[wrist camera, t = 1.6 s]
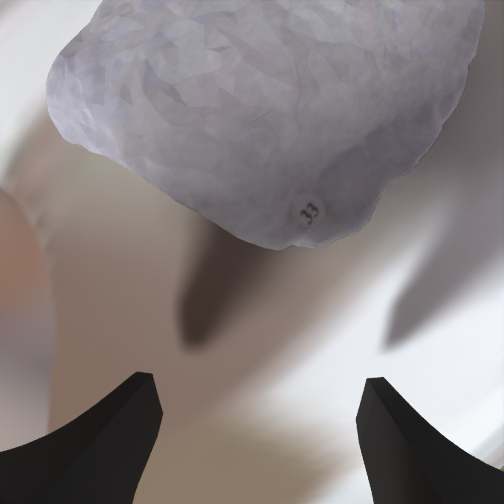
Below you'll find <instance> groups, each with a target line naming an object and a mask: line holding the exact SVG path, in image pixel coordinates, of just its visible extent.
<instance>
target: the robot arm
mask: <svg viewBox="0 0 504 504" xmlns="http://www.w3.org/2000/svg"><path fill="white" fill-rule="evenodd" d="M162 416H163V411H162V408H161V404H160V401H159V397H158V393H157V390H156V386H155V382H154V378H153V374H151V373H144V372H135V373H134V374H133V375H132V376H130V377H129V378H128V379H127V380H125V381H124V382H123V383H122V384H121V385H119V386H118V387H117V388H116V389H114V390H113V391H112V392H111V393H110V394H108V395H107V396H106V397H104V398H103V399H102V400H101V401H99V402H98V403H97V404H96V405H94V406H93V407H91V408H90V409H89V410H87V411H86V412H84V413H83V414H81V415H80V416H79V417H77V418H76V419H74V420H73V421H71V422H70V423H68V424H66V425H65V426H63V427H61V428H59V429H57V430H56V431H54V432H52V433H50V434H48V435H46V436H44V437H41V438H39V439H37V440H34V441H32V442H30V443H27V444H25V445H22V446H19V447H16V448H13V449H10V450H6V451H2V452H0V504H132V503H133V499H134V495H135V492H136V489H137V486H138V483H139V481H140V478H141V476H142V473H143V471H144V468H145V466H146V464H147V461H148V459H149V456H150V454H151V451H152V449H153V446H154V444H155V441H156V439H157V436H158V432H159V428H160V424H161V420H162ZM356 424H357V432H358V439H359V445H360V449H361V453H362V457H363V460H364V464H365V468H366V472H367V476H368V480H369V483H370V487H371V491H372V496H373V501H374V504H504V471H501V470H499V469H497V468H495V467H492V466H490V465H488V464H486V463H484V462H483V461H481V460H479V459H477V458H475V457H474V456H472V455H470V454H469V453H467V452H465V451H464V450H462V449H461V448H460V447H458V446H457V445H455V444H454V443H453V442H451V441H450V440H448V439H447V438H446V437H445V436H443V435H442V434H441V433H440V432H439V431H437V430H436V429H435V428H434V427H433V426H432V425H430V424H429V423H428V422H427V421H426V420H425V419H424V418H423V417H422V416H421V415H420V414H419V413H418V412H417V411H416V410H415V409H414V408H413V407H412V406H411V405H410V404H409V403H408V402H407V401H406V400H405V399H404V398H403V397H402V396H401V395H400V394H399V393H398V392H397V391H396V390H395V389H394V388H393V386H392V385H391V384H390V383H389V382H388V381H387V380H386V379H385V378H384V377H378V378H367V379H366V383H365V387H364V391H363V395H362V399H361V402H360V406H359V409H358V413H357V416H356Z"/></svg>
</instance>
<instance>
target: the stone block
mask: <svg viewBox="0 0 504 504" xmlns="http://www.w3.org/2000/svg"><path fill="white" fill-rule="evenodd" d="M485 16H486V14H485V3H484V0H103V1H102V3H101V4H100V5H99V7H98V8H97V10H96V12H95V14H94V16H93V18H92V20H91V22H90V23H89V24H88V25H87V26H86V27H84V28H83V29H82V30H81V31H80V33H79V34H78V35H77V36H75V37H74V38H73V39H72V40H71V41H70V42H69V43H68V44H67V45H66V47H65V48H64V49H63V50H62V51H61V52H60V53H59V54H58V56H57V58H56V59H55V61H54V62H53V64H52V67H51V69H50V72H49V75H48V77H47V81H46V97H47V105H48V111H49V114H50V117H51V118H52V120H53V122H54V124H55V126H56V127H57V129H58V130H59V132H60V133H61V135H62V136H63V138H64V139H65V140H67V141H68V142H70V143H71V144H80V145H82V146H83V147H85V148H86V149H87V150H89V151H90V152H93V153H98V154H102V155H105V156H106V157H108V158H110V159H112V160H113V161H115V162H117V163H118V164H120V165H122V166H123V167H125V168H126V169H128V170H129V171H131V172H133V173H134V174H136V175H137V176H139V177H140V178H142V179H144V180H145V181H147V182H149V183H150V184H152V185H154V186H156V187H157V188H159V189H160V190H162V191H163V192H165V193H167V194H168V195H169V196H171V197H172V198H173V199H174V200H175V201H176V202H178V203H180V204H182V205H184V206H186V207H188V208H190V209H192V210H194V211H195V212H197V213H199V214H201V215H203V216H205V217H206V218H208V219H210V220H211V221H213V222H214V223H216V224H217V225H219V226H220V227H222V228H223V229H225V230H226V231H228V232H229V233H231V234H232V235H234V236H235V237H237V238H238V239H241V240H244V241H247V242H249V243H252V244H255V245H258V246H260V247H263V248H267V249H273V250H278V251H280V250H282V249H284V248H286V247H288V246H290V245H295V246H298V247H301V246H305V247H314V248H321V247H325V246H327V245H329V244H331V243H333V242H334V241H336V240H339V239H341V238H344V237H346V236H349V235H351V234H354V233H356V232H358V231H359V230H360V229H361V228H362V227H363V226H364V225H365V224H366V223H367V222H368V221H369V220H370V218H371V216H372V213H373V211H374V209H375V207H376V204H377V202H378V200H379V198H380V195H381V193H382V192H383V191H384V190H385V189H386V188H387V187H388V186H389V185H390V184H391V183H392V182H393V181H394V180H395V179H397V178H399V177H401V176H403V175H404V174H406V173H408V172H409V171H410V170H411V169H412V168H413V167H414V166H415V165H416V164H417V163H418V161H419V160H420V159H421V157H422V156H423V155H424V154H425V153H426V152H427V151H428V150H429V149H430V148H431V146H432V145H433V143H434V142H435V140H436V138H437V137H438V135H439V133H440V132H441V130H442V129H443V123H444V122H445V121H446V120H447V119H448V118H449V116H450V115H451V114H452V112H453V111H454V109H455V108H456V107H457V106H458V104H459V101H460V98H461V95H462V93H463V91H464V89H465V86H466V82H467V78H468V64H470V63H471V61H472V60H473V58H475V57H476V54H477V47H478V43H479V39H480V35H481V32H482V28H483V24H484V20H485Z"/></svg>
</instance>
